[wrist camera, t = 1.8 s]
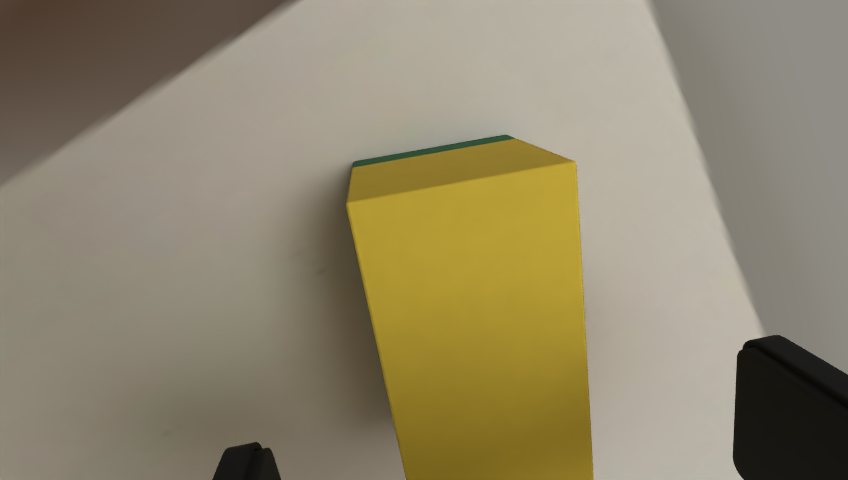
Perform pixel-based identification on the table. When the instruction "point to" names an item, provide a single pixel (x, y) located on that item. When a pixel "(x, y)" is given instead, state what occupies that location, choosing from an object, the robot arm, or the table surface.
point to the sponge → (477, 308)
